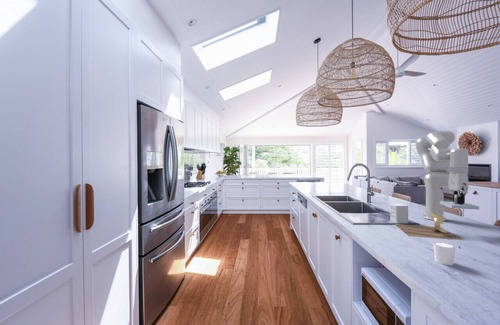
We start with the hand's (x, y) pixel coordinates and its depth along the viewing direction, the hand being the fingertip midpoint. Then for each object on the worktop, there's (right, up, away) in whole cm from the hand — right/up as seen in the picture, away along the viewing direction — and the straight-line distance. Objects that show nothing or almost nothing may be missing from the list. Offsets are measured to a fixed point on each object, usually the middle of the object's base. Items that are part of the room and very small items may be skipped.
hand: (458, 202), depth 124 cm
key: (-15, -15, -4) cm, 22 cm away
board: (-20, -17, -2) cm, 27 cm away
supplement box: (-22, -17, +17) cm, 33 cm away
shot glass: (-39, -18, -35) cm, 56 cm away
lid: (0, -2, 0) cm, 2 cm away
